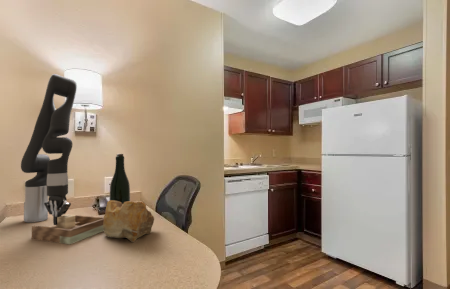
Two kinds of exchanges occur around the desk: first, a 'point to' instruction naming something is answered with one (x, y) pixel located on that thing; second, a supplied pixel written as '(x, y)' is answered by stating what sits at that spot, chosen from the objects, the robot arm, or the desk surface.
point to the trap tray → (70, 230)
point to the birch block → (66, 221)
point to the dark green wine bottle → (120, 182)
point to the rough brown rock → (127, 220)
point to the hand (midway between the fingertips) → (57, 224)
